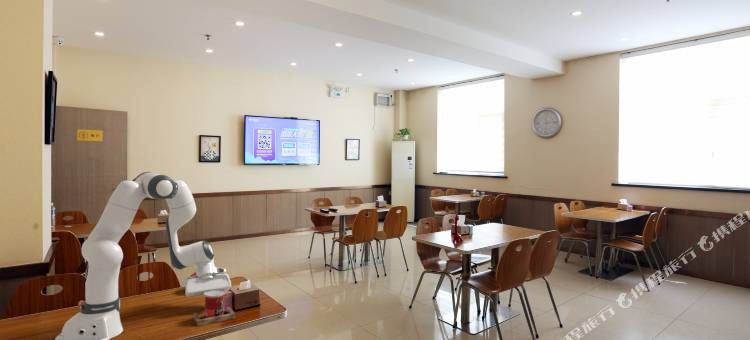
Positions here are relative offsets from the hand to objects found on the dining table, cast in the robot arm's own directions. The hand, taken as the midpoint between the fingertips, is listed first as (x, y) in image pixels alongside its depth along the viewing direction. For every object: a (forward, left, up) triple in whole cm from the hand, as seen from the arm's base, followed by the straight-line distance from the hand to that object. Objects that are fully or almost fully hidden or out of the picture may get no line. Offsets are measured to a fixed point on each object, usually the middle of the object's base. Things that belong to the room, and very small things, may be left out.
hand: (210, 300), depth 192 cm
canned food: (0, -7, -5) cm, 9 cm away
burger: (+2, +33, -5) cm, 34 cm away
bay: (0, -8, -5) cm, 9 cm away
